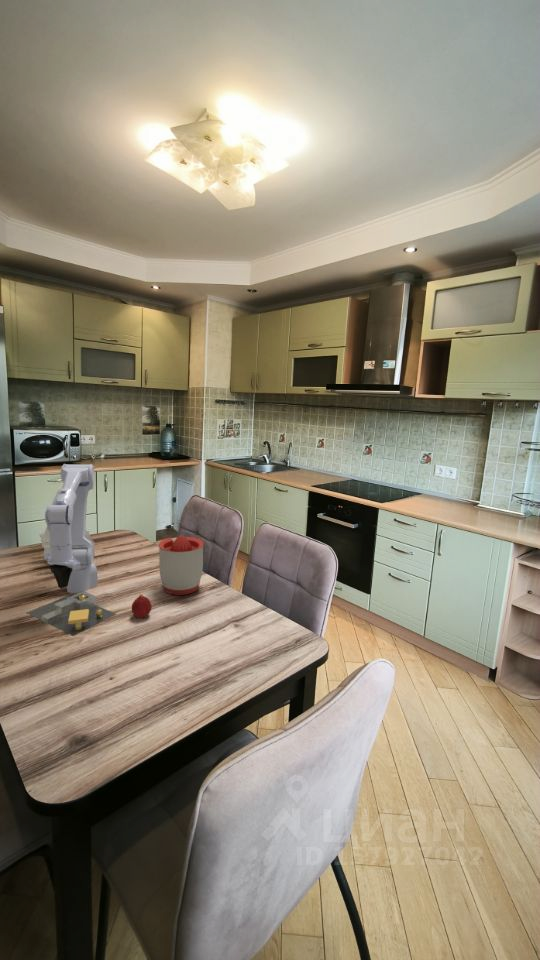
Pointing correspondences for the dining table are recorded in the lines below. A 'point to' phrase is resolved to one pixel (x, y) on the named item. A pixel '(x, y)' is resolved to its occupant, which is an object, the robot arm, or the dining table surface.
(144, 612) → the onion
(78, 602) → the link
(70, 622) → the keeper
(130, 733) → the dining table surface
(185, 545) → the citrus juicer
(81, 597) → the cylinder
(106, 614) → the plate
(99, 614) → the post
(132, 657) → the dining table surface
